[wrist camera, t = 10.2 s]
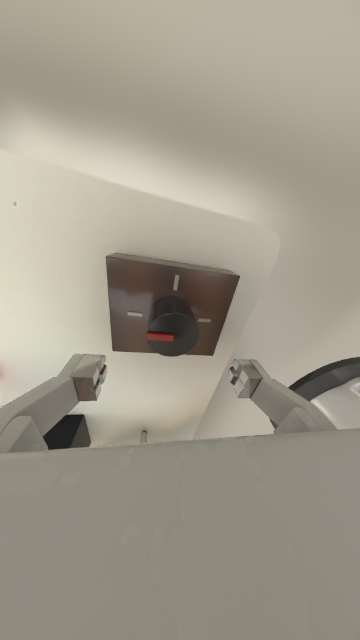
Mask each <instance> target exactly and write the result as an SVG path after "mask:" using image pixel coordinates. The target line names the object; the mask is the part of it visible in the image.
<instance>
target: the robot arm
mask: <svg viewBox="0 0 360 640" xmlns="http://www.w3.org/2000/svg"><path fill="white" fill-rule="evenodd" d="M105 361H106V358H105V355H94V354H74V355H73V356H72V358H71V359H70V360H69V362H68V363H67V364H66V366H65V367H64V368H63V370H62V371H61V372H60V374H59V375H58V376H57V377H53V378H51V379H50V380H48V381H46V382H45V383H43V384H41V385H39V386H38V387H36V388H34V389H32V390H31V391H29V392H27V393H26V394H24V395H22V396H20V397H19V398H17V399H15V400H13V401H12V402H10V403H8V404H7V405H5V406H3V407H1V408H0V640H360V377H357V378H354V379H352V380H350V381H348V382H347V383H345V384H343V385H341V386H339V387H336V388H333V389H331V390H328V391H326V392H324V393H322V394H320V395H319V396H317V397H315V398H314V399H313V400H311V401H310V402H309V401H307V400H306V399H304V398H303V397H301V396H300V395H298V394H296V393H295V392H293V391H292V390H290V389H289V388H287V387H285V386H284V385H282V384H281V383H279V382H278V381H276V380H274V379H271V378H270V376H269V375H268V374H267V373H266V371H265V370H264V369H263V368H262V366H261V365H260V364H259V363H258V361H256V360H241V359H234V360H233V362H232V367H231V368H230V369H229V371H228V377H229V380H230V382H231V383H232V384H233V385H234V390H235V393H236V395H237V397H238V398H250V399H251V400H252V401H253V402H254V403H255V404H256V405H257V406H258V407H259V408H260V409H261V410H262V411H263V412H264V413H265V414H266V415H267V416H268V417H269V418H270V419H272V420H273V421H274V422H275V423H276V424H277V425H278V426H277V428H276V429H275V430H274V434H270V435H256V436H241V437H227V438H212V439H199V440H183V441H169V442H155V443H141V444H126V445H112V446H98V447H84V448H69V449H55V450H48V446H47V444H46V442H45V440H44V439H43V436H44V435H45V434H46V433H47V432H48V431H49V430H50V429H51V428H52V427H53V426H54V425H55V424H57V423H58V422H59V421H60V420H61V419H62V418H63V417H64V416H65V415H66V414H67V413H68V412H69V411H70V410H71V409H73V408H74V407H75V406H76V405H77V404H78V403H79V401H97V399H98V396H99V394H100V391H101V384H102V383H104V381H105V378H106V373H107V366H106V365H105V364H104V363H105Z"/></svg>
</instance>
